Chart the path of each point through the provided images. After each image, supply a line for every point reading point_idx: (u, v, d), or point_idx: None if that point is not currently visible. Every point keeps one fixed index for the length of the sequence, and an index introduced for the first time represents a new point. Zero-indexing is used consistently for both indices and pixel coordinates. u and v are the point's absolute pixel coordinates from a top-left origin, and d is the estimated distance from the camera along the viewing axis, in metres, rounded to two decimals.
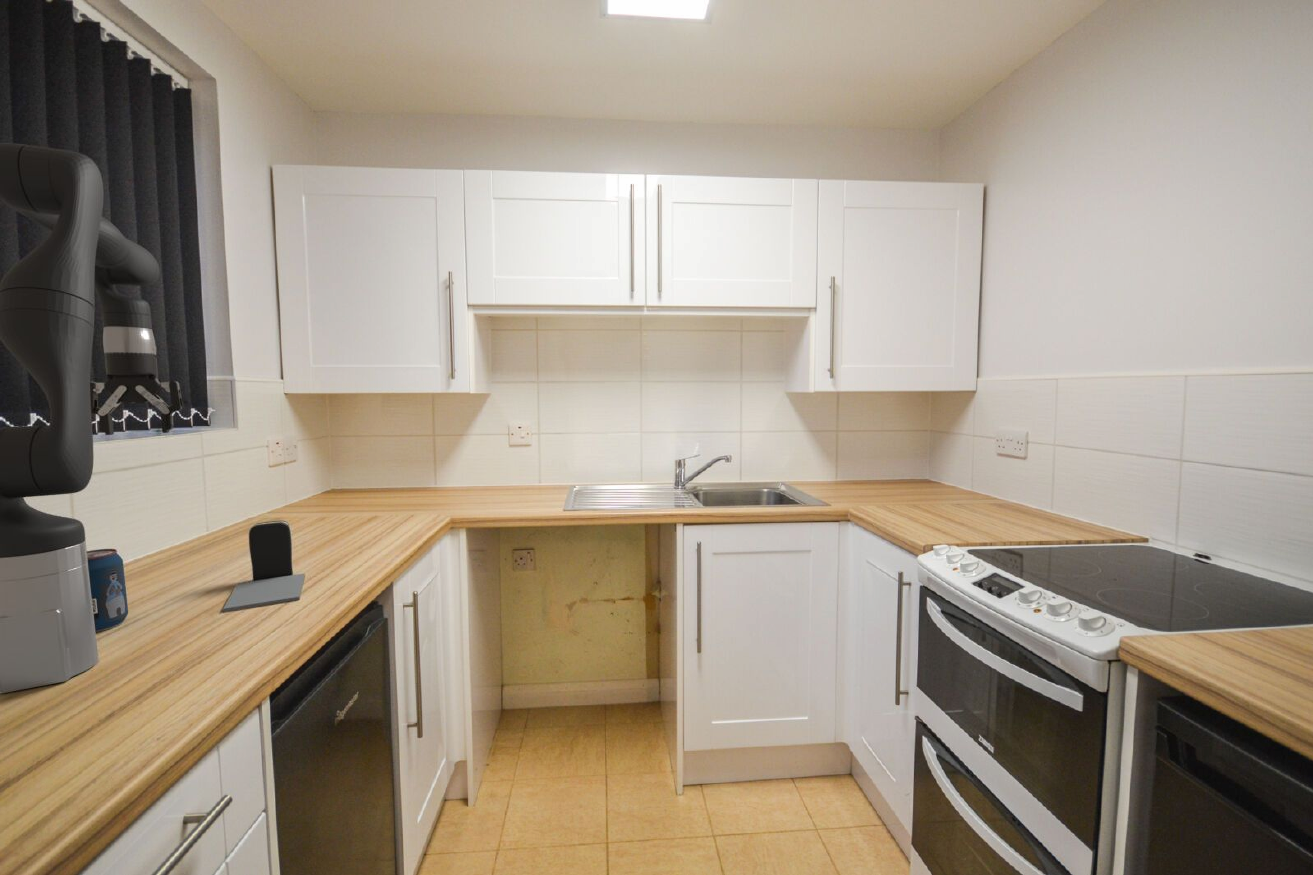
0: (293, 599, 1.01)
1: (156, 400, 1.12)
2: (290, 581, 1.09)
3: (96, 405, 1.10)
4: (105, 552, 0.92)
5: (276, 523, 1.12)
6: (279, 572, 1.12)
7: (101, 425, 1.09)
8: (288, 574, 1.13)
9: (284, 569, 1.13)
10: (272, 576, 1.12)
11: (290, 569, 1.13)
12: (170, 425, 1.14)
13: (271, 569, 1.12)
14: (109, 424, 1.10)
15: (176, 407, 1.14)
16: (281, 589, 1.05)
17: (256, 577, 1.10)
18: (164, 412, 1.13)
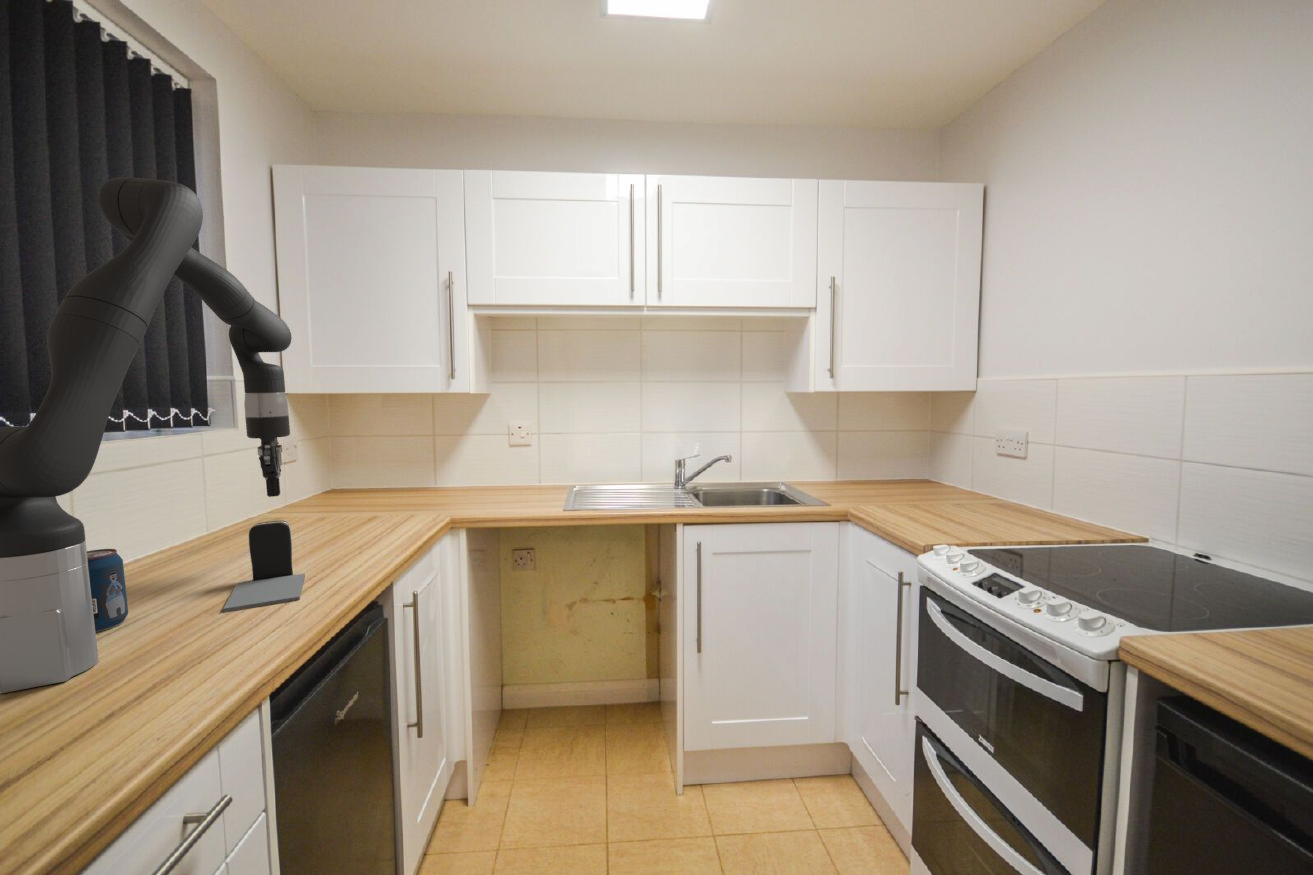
0: (293, 599, 1.01)
1: None
2: (290, 581, 1.09)
3: None
4: (105, 552, 0.92)
5: (276, 523, 1.12)
6: (279, 572, 1.12)
7: (276, 487, 1.19)
8: (288, 574, 1.13)
9: (284, 569, 1.13)
10: (272, 576, 1.12)
11: (290, 569, 1.13)
12: None
13: (271, 569, 1.12)
14: None
15: None
16: (281, 589, 1.05)
17: (256, 577, 1.10)
18: (279, 475, 1.21)
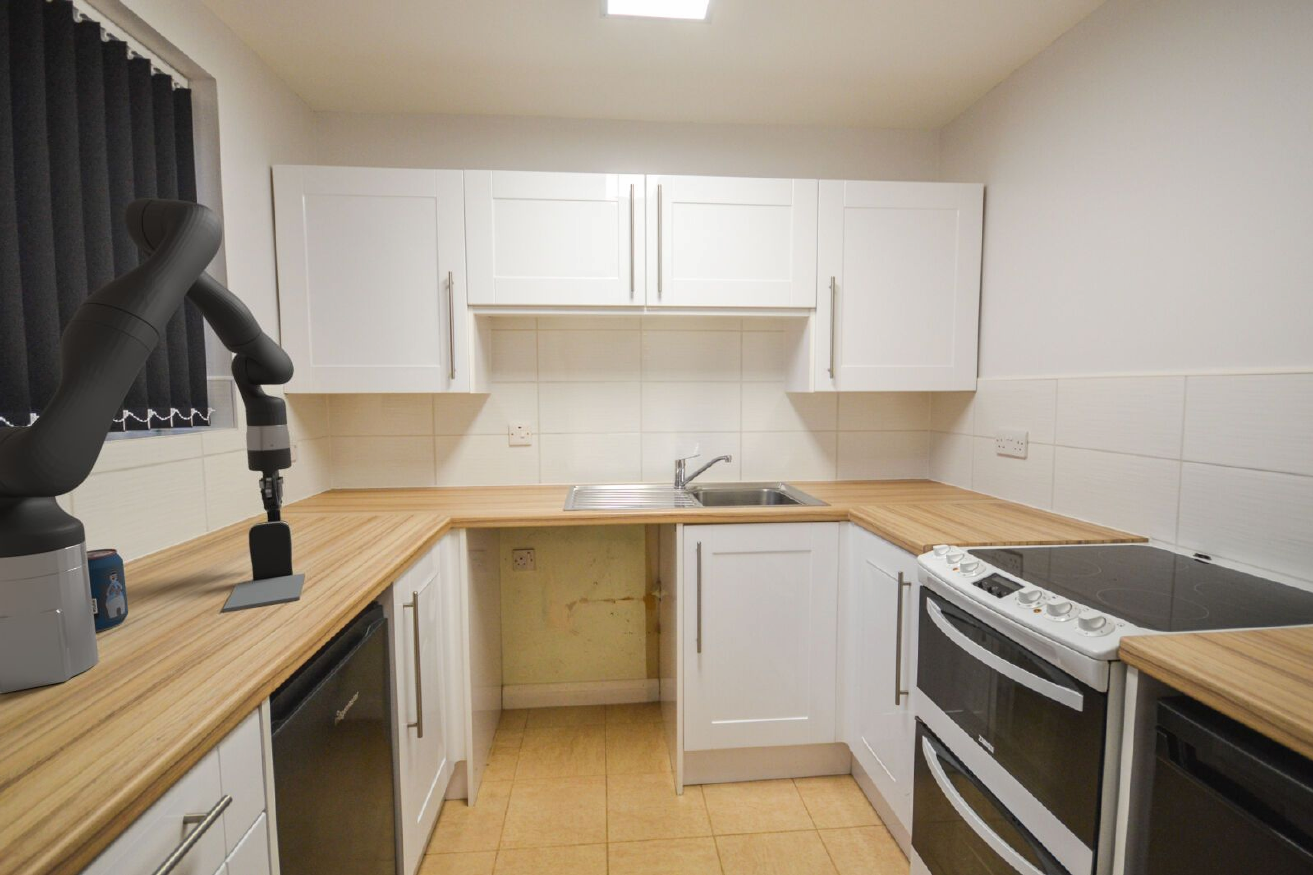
0: (293, 599, 1.01)
1: None
2: (290, 581, 1.09)
3: None
4: (105, 552, 0.92)
5: (276, 523, 1.12)
6: (279, 572, 1.12)
7: (277, 519, 1.19)
8: (288, 574, 1.13)
9: (284, 569, 1.13)
10: (272, 576, 1.12)
11: (290, 569, 1.13)
12: None
13: (271, 569, 1.12)
14: None
15: None
16: (281, 589, 1.05)
17: (256, 577, 1.10)
18: (280, 507, 1.21)
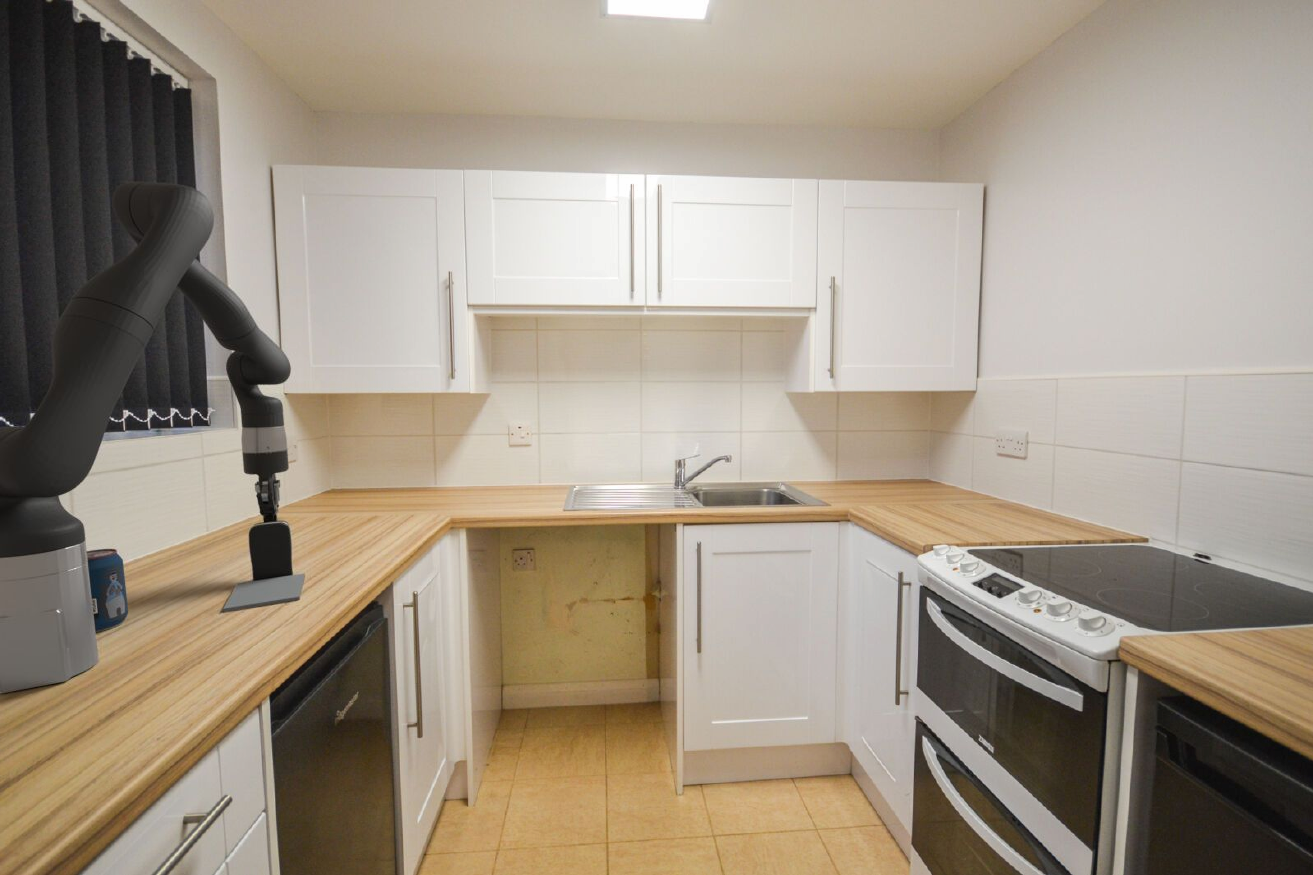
0: (293, 599, 1.01)
1: None
2: (290, 581, 1.09)
3: None
4: (105, 552, 0.92)
5: (276, 523, 1.11)
6: (279, 572, 1.12)
7: None
8: (288, 574, 1.13)
9: (284, 569, 1.13)
10: (272, 576, 1.12)
11: (290, 569, 1.13)
12: None
13: (271, 569, 1.11)
14: None
15: (278, 505, 1.18)
16: (281, 589, 1.05)
17: (256, 577, 1.10)
18: (277, 511, 1.16)
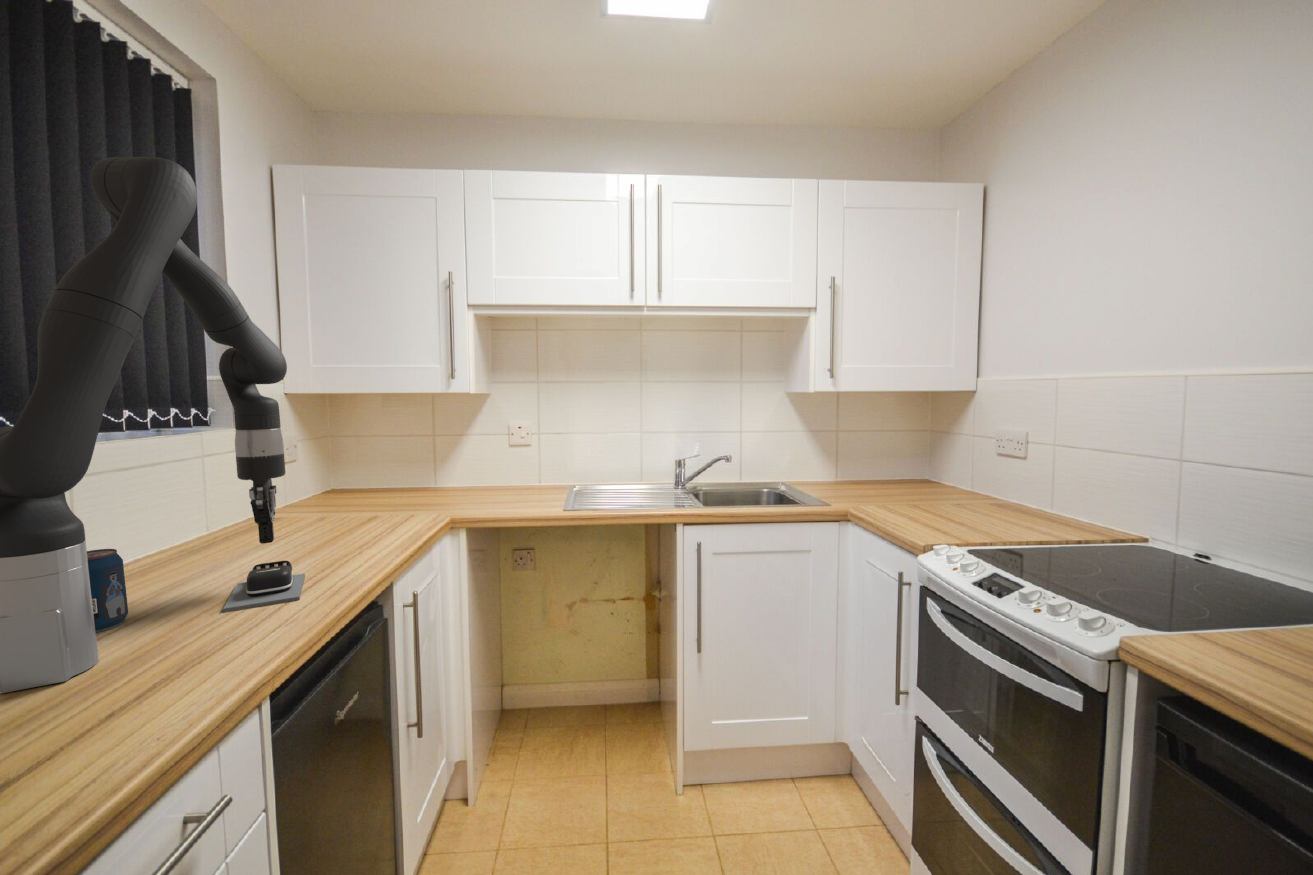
0: (293, 599, 1.01)
1: None
2: None
3: None
4: (105, 552, 0.92)
5: (277, 591, 1.03)
6: None
7: (269, 533, 1.07)
8: None
9: None
10: None
11: None
12: None
13: None
14: None
15: None
16: None
17: None
18: (273, 519, 1.09)
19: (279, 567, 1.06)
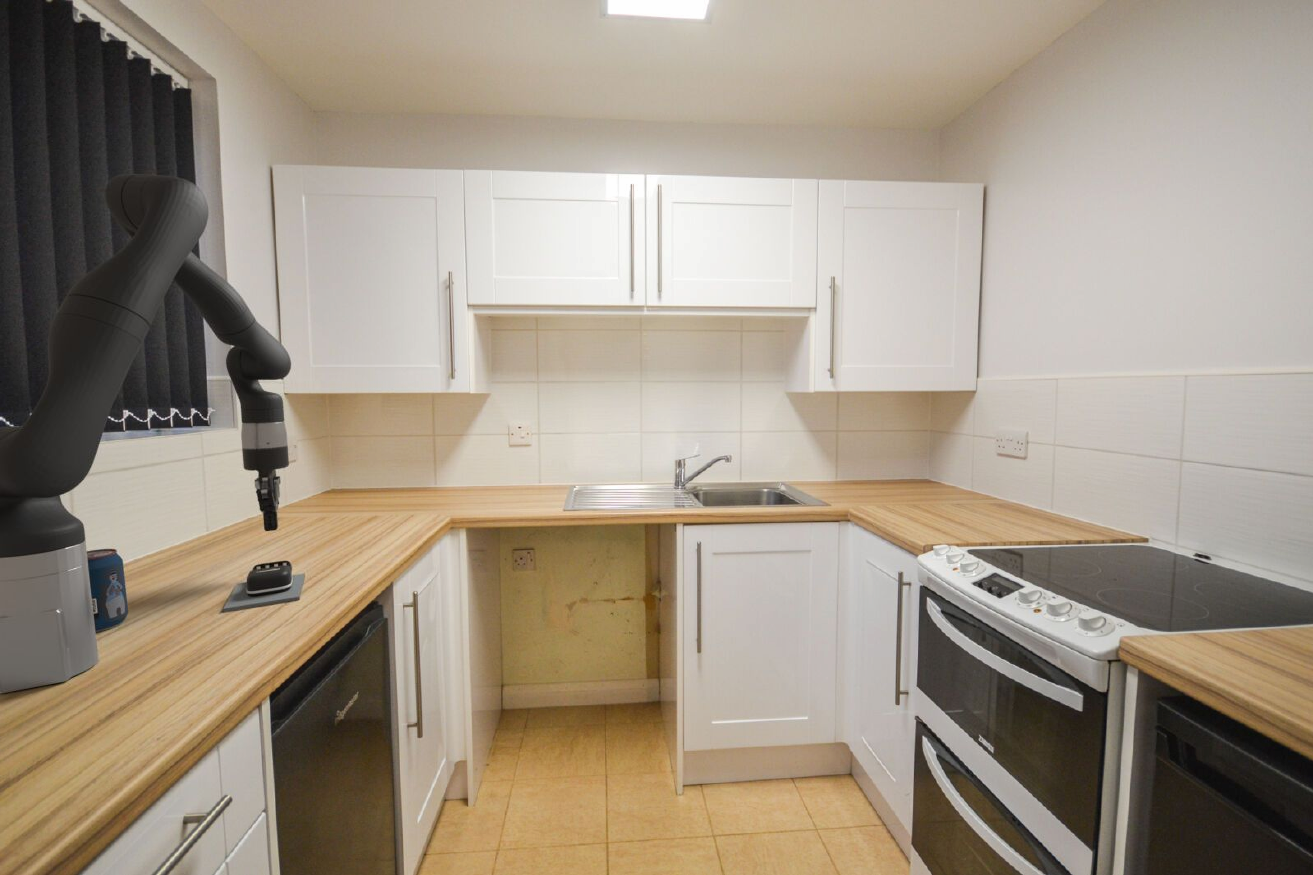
0: (293, 599, 1.01)
1: None
2: None
3: None
4: (105, 552, 0.92)
5: (277, 591, 1.03)
6: None
7: (274, 521, 1.13)
8: None
9: None
10: None
11: None
12: None
13: None
14: None
15: None
16: None
17: None
18: (277, 508, 1.15)
19: (279, 567, 1.06)
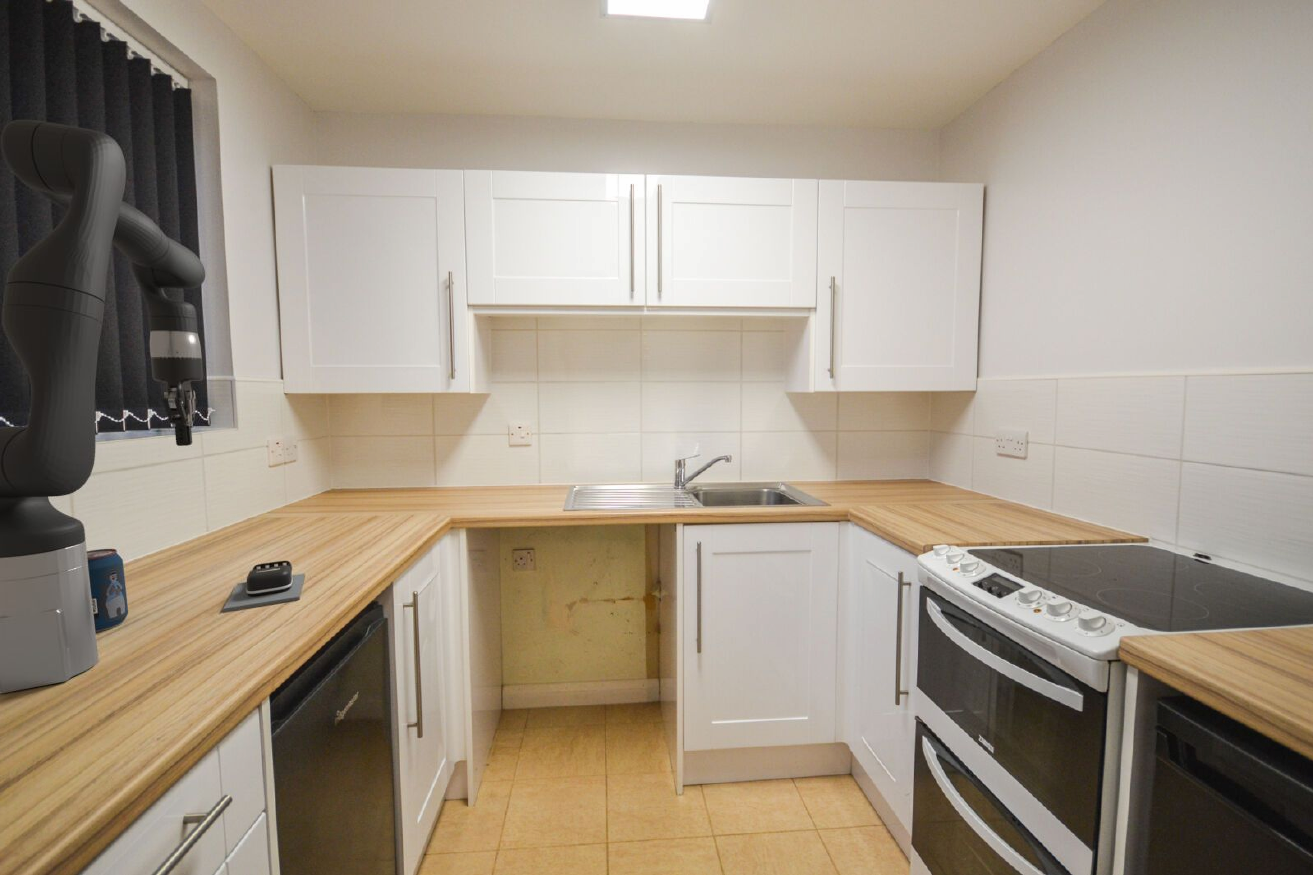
0: (293, 599, 1.01)
1: (194, 410, 1.12)
2: None
3: None
4: (105, 552, 0.92)
5: (277, 591, 1.03)
6: None
7: (186, 436, 1.10)
8: None
9: None
10: None
11: None
12: None
13: None
14: None
15: (194, 418, 1.13)
16: None
17: None
18: (191, 423, 1.11)
19: (279, 567, 1.06)
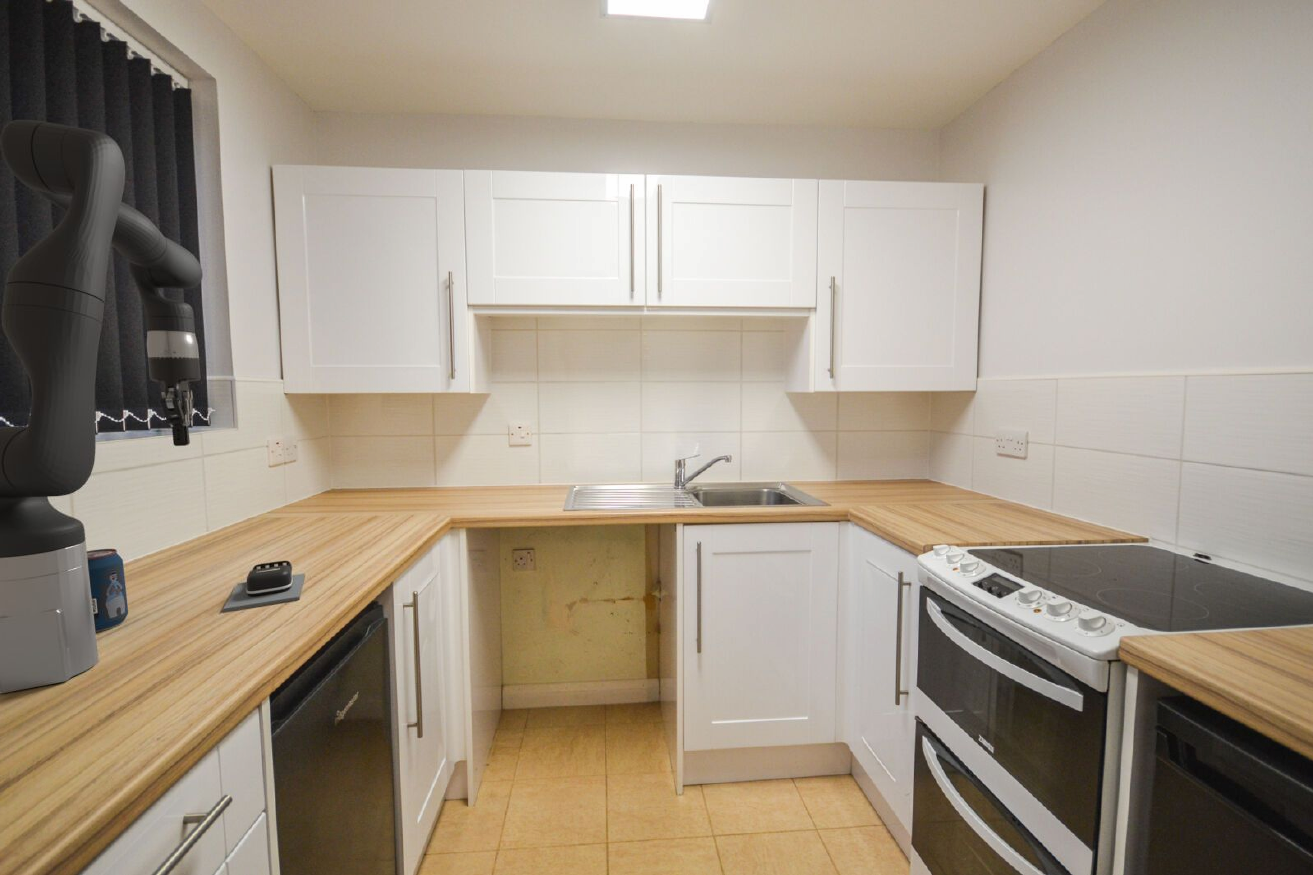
0: (293, 599, 1.01)
1: (191, 410, 1.12)
2: None
3: None
4: (105, 552, 0.92)
5: (277, 591, 1.03)
6: None
7: (183, 436, 1.09)
8: None
9: None
10: None
11: None
12: None
13: None
14: None
15: (191, 418, 1.13)
16: None
17: None
18: (188, 423, 1.11)
19: (279, 567, 1.06)
